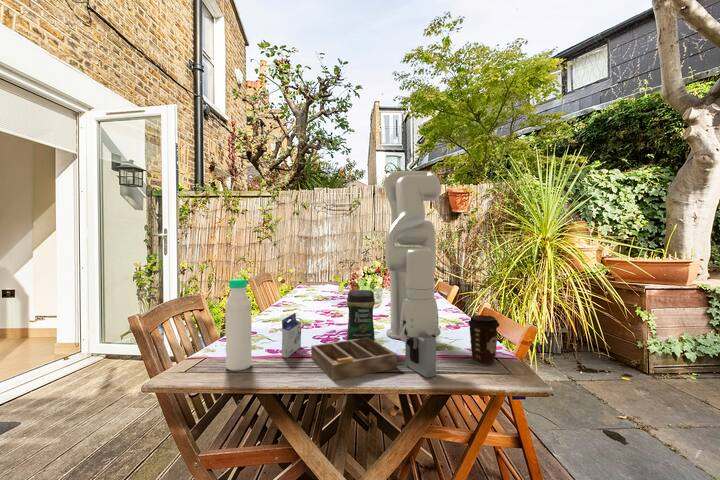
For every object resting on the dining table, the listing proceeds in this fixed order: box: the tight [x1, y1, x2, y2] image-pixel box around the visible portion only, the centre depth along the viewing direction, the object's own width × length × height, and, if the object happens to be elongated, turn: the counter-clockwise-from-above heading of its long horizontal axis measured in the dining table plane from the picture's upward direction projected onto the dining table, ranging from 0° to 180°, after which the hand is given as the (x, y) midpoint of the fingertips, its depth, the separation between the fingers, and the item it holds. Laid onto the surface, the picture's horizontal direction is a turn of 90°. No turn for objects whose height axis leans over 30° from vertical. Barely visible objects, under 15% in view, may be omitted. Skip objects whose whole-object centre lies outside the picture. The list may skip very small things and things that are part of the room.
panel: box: [404, 334, 437, 379], centre depth 99 cm, size 3×10×10 cm, turn 26°
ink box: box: [281, 312, 302, 359], centre depth 116 cm, size 12×2×12 cm, turn 168°
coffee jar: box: [346, 289, 376, 342], centre depth 123 cm, size 10×8×19 cm
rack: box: [310, 337, 398, 381], centre depth 105 cm, size 19×18×5 cm
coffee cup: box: [467, 314, 500, 366], centre depth 106 cm, size 9×8×13 cm
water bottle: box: [224, 278, 253, 372], centre depth 103 cm, size 7×7×25 cm
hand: (420, 360), depth 99 cm, fingers closed on panel, 3 cm apart
